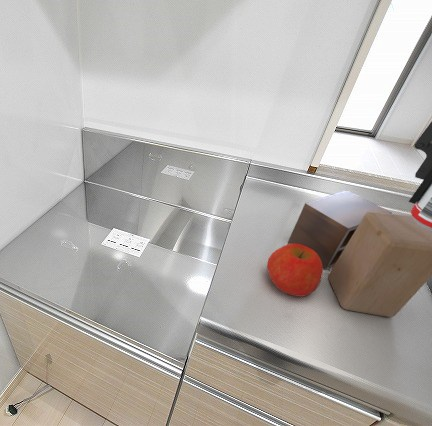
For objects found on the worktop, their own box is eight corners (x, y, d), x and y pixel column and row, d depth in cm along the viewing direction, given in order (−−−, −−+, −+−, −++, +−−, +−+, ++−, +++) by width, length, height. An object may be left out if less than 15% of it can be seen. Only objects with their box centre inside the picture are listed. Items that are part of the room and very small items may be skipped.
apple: (253, 272, 72) (265, 239, 66) (288, 261, 75) (303, 229, 69) (286, 307, 64) (304, 274, 58) (325, 293, 67) (346, 260, 60)
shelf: (365, 253, 77) (392, 212, 69) (324, 269, 72) (348, 228, 65) (326, 228, 85) (346, 190, 77) (287, 242, 81) (305, 203, 73)
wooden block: (340, 310, 63) (390, 241, 51) (325, 276, 71) (365, 208, 59) (394, 319, 61) (460, 249, 49) (372, 283, 69) (424, 215, 57)
